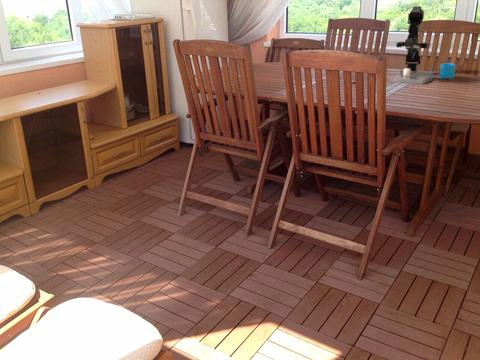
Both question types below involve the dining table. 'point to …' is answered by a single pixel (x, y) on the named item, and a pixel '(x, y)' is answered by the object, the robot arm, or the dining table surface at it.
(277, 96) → the dining table surface
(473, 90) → the dining table surface
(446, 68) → the mug
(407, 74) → the cream domed knob
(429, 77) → the jig
